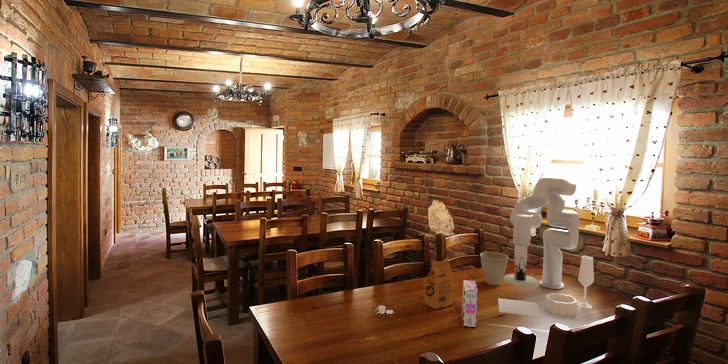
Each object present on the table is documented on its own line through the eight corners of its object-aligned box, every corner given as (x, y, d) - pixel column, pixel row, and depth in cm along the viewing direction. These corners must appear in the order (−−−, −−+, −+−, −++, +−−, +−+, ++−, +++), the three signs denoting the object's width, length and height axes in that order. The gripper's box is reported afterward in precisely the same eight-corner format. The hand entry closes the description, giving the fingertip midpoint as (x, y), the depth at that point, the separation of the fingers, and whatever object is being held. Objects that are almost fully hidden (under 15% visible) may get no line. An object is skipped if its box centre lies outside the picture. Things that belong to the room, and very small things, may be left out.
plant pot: (475, 284, 235) (476, 256, 233) (484, 277, 247) (485, 250, 246) (502, 289, 226) (503, 260, 225) (510, 282, 239) (511, 254, 237)
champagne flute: (594, 309, 201) (597, 259, 199) (578, 307, 203) (581, 258, 200) (589, 303, 208) (592, 255, 205) (574, 302, 209) (577, 255, 207)
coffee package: (421, 303, 206) (422, 259, 204) (441, 299, 212) (442, 256, 210) (434, 310, 197) (436, 264, 195) (454, 305, 204) (456, 261, 201)
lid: (502, 274, 210) (503, 263, 209) (535, 277, 205) (535, 265, 205) (503, 285, 195) (504, 272, 195) (538, 288, 191) (539, 275, 190)
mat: (498, 299, 212) (498, 298, 212) (536, 303, 207) (536, 302, 207) (499, 313, 195) (499, 312, 195) (541, 318, 190) (541, 316, 190)
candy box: (476, 328, 179) (478, 290, 177) (462, 327, 180) (463, 289, 178) (474, 315, 192) (476, 280, 191) (461, 314, 193) (462, 279, 192)
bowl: (544, 304, 207) (544, 292, 206) (573, 307, 203) (574, 295, 203) (547, 314, 194) (548, 301, 194) (578, 317, 191) (579, 305, 190)
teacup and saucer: (394, 313, 195) (394, 305, 194) (389, 320, 187) (389, 311, 187) (376, 310, 197) (376, 302, 197) (370, 317, 190) (370, 308, 190)
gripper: (512, 236, 207) (510, 272, 209) (514, 244, 191) (512, 283, 193) (528, 237, 205) (527, 274, 207) (531, 245, 189) (530, 285, 191)
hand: (520, 278), depth 200 cm, fingers closed on lid, 3 cm apart
